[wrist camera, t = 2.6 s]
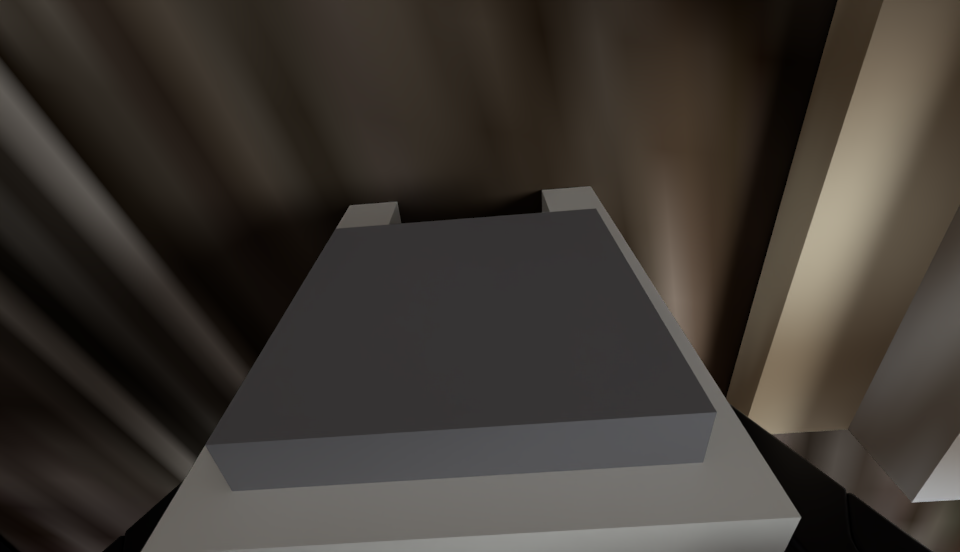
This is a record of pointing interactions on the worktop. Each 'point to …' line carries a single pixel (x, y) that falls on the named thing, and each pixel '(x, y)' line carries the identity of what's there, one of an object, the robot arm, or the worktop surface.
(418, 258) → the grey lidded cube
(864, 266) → the rail
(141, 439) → the worktop surface
